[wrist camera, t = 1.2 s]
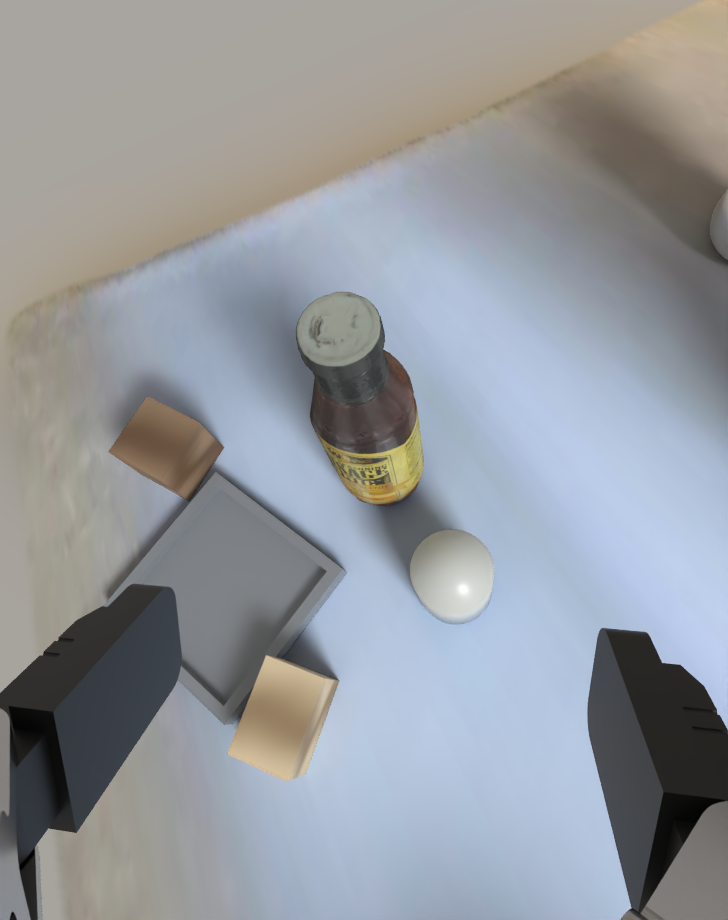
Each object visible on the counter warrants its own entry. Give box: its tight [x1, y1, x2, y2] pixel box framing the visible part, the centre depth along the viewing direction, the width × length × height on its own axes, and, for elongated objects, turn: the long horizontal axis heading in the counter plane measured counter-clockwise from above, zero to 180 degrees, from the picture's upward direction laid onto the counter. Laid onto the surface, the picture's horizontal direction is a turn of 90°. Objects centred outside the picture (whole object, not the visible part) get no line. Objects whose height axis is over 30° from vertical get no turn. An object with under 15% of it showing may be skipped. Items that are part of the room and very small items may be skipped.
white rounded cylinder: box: [410, 529, 494, 624], centre depth 40 cm, size 5×5×6 cm
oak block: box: [227, 655, 339, 781], centre depth 39 cm, size 6×4×4 cm, turn 160°
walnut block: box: [108, 396, 224, 501], centre depth 48 cm, size 5×5×5 cm
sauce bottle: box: [296, 292, 424, 506], centre depth 37 cm, size 6×6×20 cm
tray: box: [104, 472, 346, 725], centre depth 45 cm, size 13×13×2 cm
